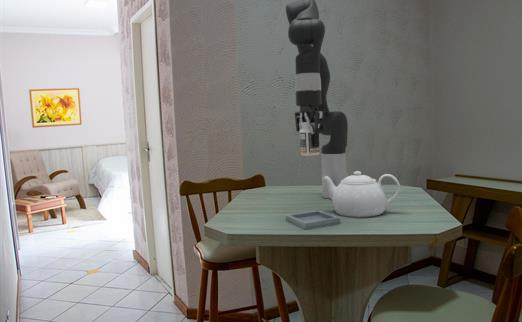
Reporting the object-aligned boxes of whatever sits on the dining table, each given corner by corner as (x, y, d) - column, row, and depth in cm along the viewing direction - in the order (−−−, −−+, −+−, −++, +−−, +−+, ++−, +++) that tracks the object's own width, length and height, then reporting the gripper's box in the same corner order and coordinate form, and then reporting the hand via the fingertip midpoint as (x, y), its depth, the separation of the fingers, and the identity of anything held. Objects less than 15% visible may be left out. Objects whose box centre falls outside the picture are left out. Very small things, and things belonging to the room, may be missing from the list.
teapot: (356, 222, 127) (355, 177, 126) (320, 211, 144) (319, 171, 142) (402, 213, 136) (401, 171, 134) (363, 203, 152) (362, 166, 151)
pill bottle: (320, 153, 129) (319, 121, 128) (319, 155, 124) (318, 121, 123) (301, 154, 131) (300, 121, 129) (299, 156, 125) (298, 122, 124)
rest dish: (318, 215, 137) (318, 210, 137) (340, 223, 126) (339, 217, 126) (285, 220, 132) (285, 215, 132) (304, 229, 121) (304, 223, 121)
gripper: (285, 91, 130) (287, 146, 132) (309, 88, 117) (311, 148, 119) (307, 91, 133) (308, 144, 135) (332, 87, 120) (333, 147, 122)
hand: (309, 146), depth 127 cm, fingers closed on pill bottle, 5 cm apart
